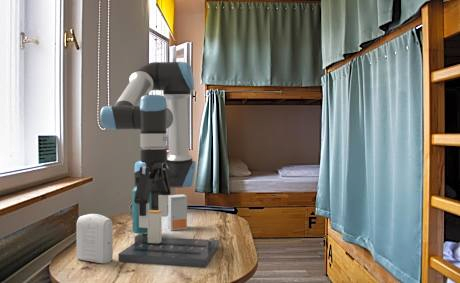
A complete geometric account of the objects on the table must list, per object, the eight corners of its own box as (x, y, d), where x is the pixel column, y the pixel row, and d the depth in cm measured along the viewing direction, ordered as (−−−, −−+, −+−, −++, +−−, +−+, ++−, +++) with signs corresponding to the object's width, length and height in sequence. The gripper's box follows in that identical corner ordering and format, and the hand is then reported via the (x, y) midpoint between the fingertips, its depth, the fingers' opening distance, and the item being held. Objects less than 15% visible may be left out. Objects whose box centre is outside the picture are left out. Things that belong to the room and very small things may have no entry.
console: (144, 242, 106) (144, 229, 106) (219, 246, 102) (219, 233, 102) (118, 261, 91) (118, 246, 90) (205, 267, 86) (205, 251, 86)
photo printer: (115, 259, 92) (114, 214, 92) (104, 265, 88) (103, 217, 88) (86, 254, 96) (85, 211, 95) (73, 260, 92) (73, 214, 91)
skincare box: (171, 231, 119) (170, 197, 119) (168, 228, 123) (167, 195, 123) (187, 229, 121) (187, 195, 121) (184, 226, 125) (184, 194, 125)
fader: (150, 240, 101) (150, 210, 100) (161, 241, 100) (161, 210, 100) (147, 242, 98) (147, 211, 98) (159, 243, 98) (158, 212, 98)
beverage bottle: (147, 239, 110) (146, 177, 110) (128, 237, 111) (127, 177, 111) (155, 233, 116) (155, 175, 116) (137, 232, 118) (137, 174, 117)
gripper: (147, 149, 86) (148, 233, 86) (180, 147, 110) (180, 212, 110) (120, 149, 87) (121, 232, 87) (158, 147, 112) (158, 211, 112)
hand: (154, 221), depth 99 cm, fingers open, 13 cm apart
